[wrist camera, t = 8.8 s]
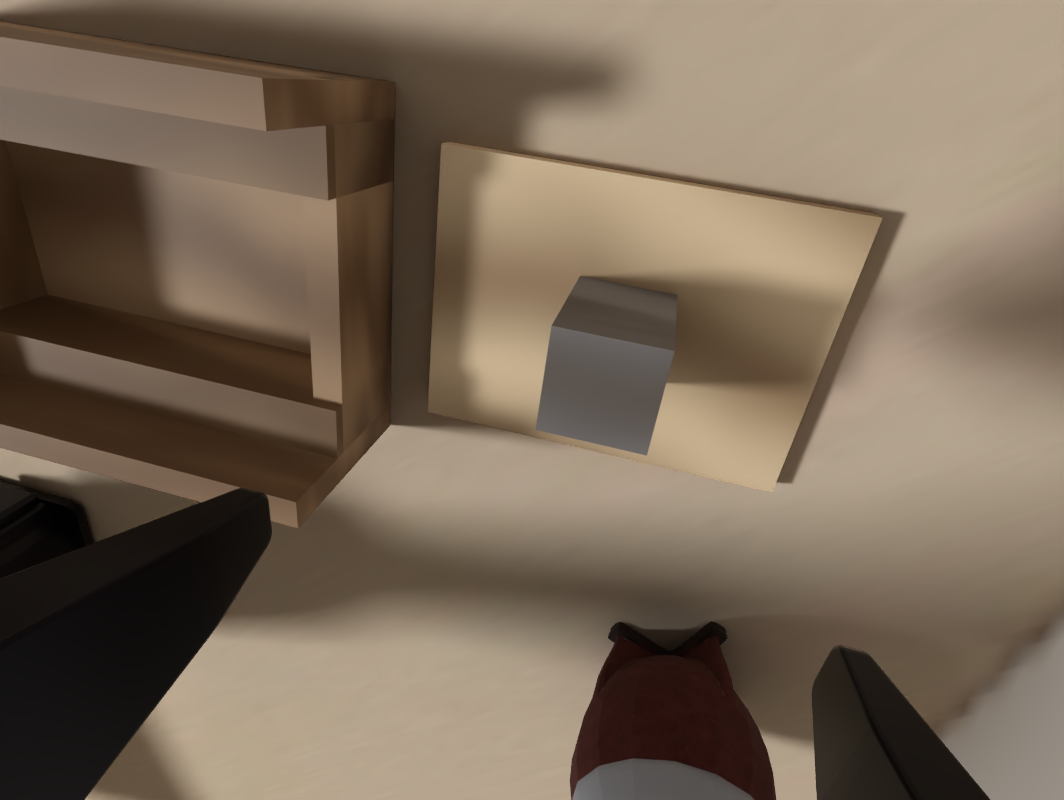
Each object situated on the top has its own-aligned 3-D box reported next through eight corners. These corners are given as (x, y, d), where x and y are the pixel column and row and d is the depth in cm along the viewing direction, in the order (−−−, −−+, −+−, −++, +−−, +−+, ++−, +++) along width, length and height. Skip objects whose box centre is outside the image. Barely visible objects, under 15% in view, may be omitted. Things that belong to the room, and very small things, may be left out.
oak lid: (767, 473, 21) (791, 588, 16) (439, 397, 23) (371, 481, 18) (871, 210, 17) (946, 259, 12) (454, 140, 19) (371, 158, 14)
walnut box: (389, 425, 24) (297, 528, 18) (62, 347, 26) (-111, 417, 20) (394, 82, 18) (262, 78, 12) (-29, 17, 20) (-305, -12, 14)
